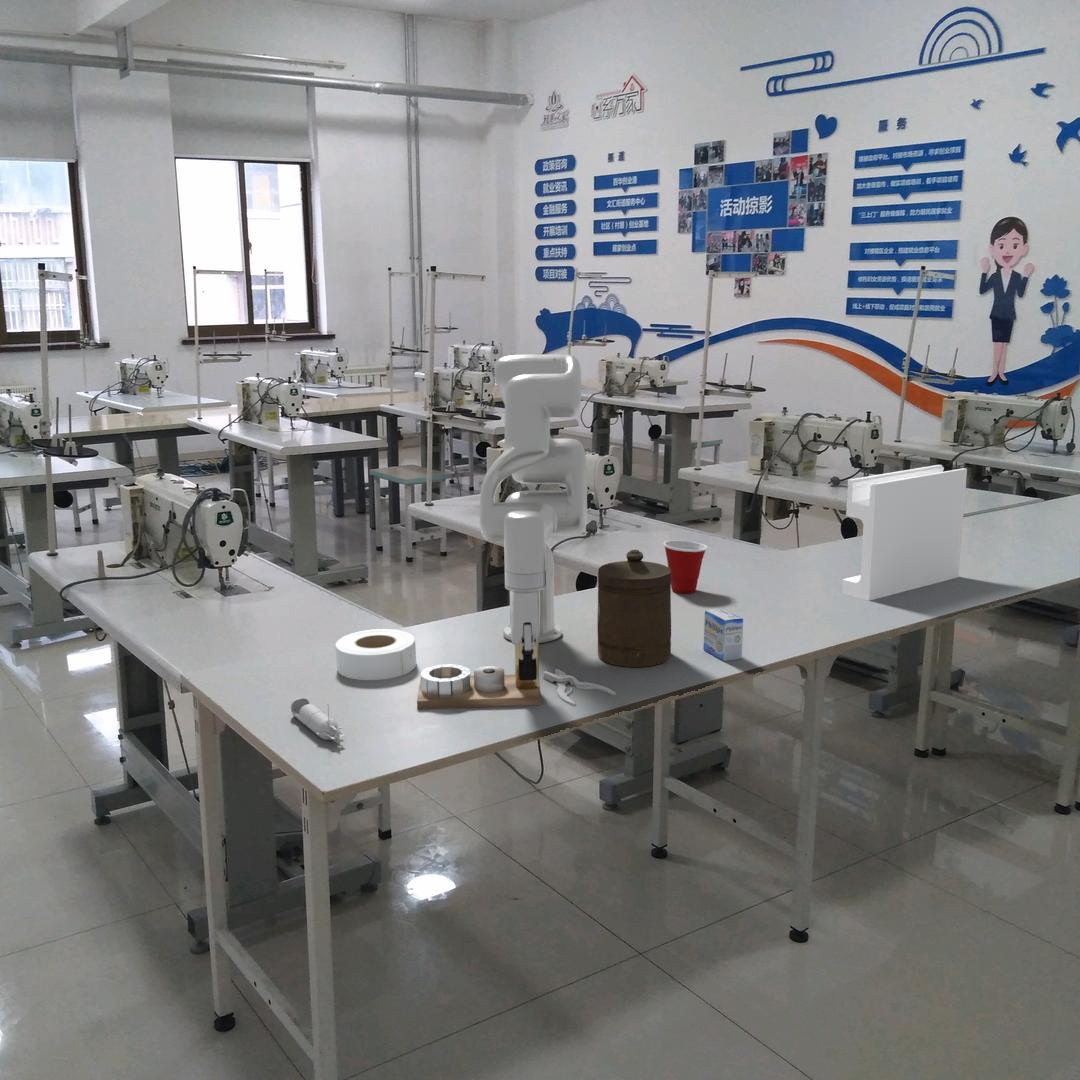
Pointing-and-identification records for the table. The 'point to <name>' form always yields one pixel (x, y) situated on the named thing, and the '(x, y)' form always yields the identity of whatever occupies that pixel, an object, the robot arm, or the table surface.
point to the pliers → (565, 679)
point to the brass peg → (518, 683)
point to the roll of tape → (376, 654)
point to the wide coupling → (445, 680)
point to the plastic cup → (684, 564)
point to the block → (907, 529)
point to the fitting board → (484, 692)
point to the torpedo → (316, 719)
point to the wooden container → (634, 612)
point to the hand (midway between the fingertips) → (527, 673)
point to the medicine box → (723, 634)
